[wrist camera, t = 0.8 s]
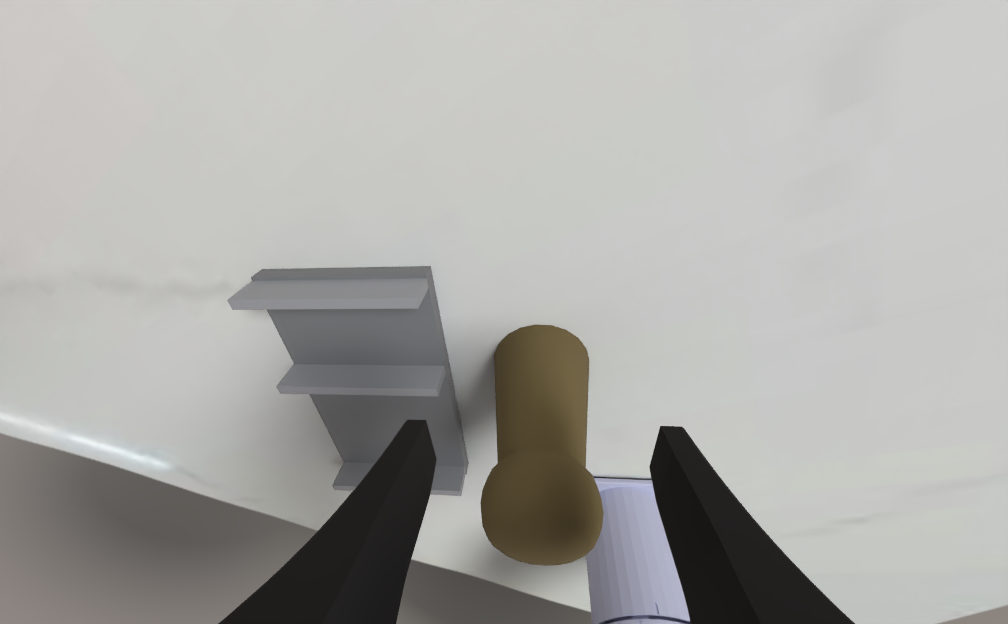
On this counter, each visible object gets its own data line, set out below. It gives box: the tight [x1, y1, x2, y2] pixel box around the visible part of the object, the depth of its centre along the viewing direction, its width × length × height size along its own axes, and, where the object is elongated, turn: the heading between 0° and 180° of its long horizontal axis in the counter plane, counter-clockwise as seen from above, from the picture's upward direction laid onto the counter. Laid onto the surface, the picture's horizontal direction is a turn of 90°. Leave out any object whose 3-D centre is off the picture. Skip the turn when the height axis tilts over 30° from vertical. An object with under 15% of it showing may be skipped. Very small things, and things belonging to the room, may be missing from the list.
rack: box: [228, 266, 468, 496], centre depth 24 cm, size 18×10×3 cm, turn 3°
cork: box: [481, 325, 604, 565], centre depth 19 cm, size 6×6×11 cm
